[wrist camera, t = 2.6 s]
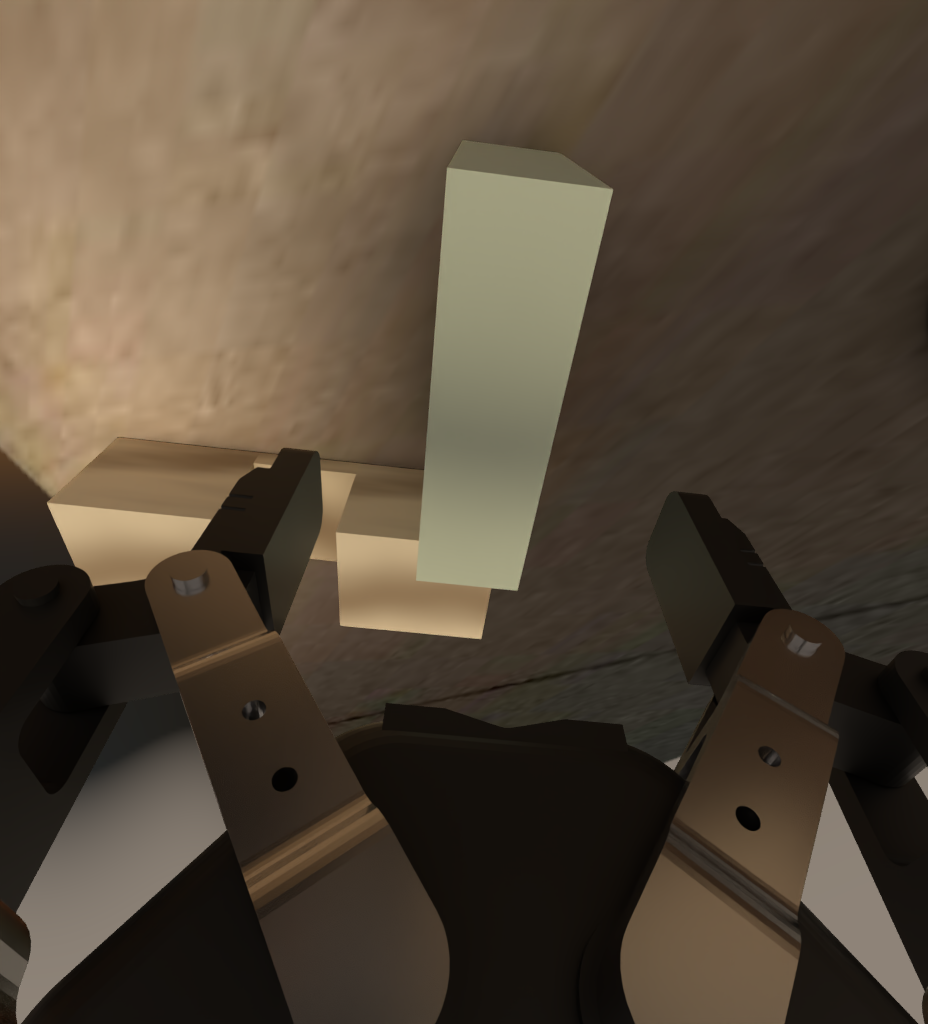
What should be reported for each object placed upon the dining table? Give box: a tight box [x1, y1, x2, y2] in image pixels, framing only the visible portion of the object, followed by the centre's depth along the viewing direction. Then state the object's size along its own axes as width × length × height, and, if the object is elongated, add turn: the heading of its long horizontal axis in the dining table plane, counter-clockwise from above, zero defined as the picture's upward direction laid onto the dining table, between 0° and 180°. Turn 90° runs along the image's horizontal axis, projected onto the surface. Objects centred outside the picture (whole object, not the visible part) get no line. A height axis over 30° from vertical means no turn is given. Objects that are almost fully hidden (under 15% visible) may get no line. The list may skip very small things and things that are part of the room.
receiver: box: [47, 437, 491, 639], centre depth 27 cm, size 6×19×6 cm, turn 84°
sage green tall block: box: [416, 140, 613, 591], centre depth 19 cm, size 12×4×10 cm, turn 174°
